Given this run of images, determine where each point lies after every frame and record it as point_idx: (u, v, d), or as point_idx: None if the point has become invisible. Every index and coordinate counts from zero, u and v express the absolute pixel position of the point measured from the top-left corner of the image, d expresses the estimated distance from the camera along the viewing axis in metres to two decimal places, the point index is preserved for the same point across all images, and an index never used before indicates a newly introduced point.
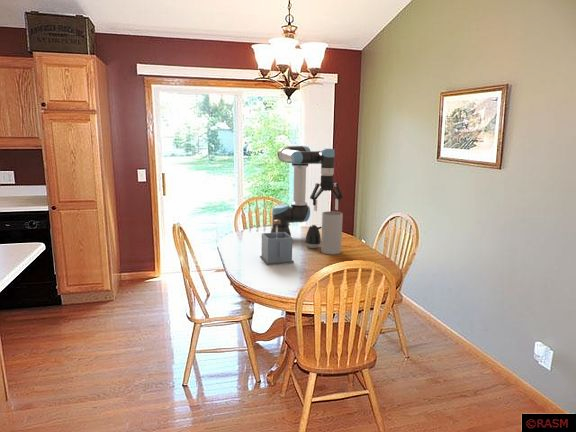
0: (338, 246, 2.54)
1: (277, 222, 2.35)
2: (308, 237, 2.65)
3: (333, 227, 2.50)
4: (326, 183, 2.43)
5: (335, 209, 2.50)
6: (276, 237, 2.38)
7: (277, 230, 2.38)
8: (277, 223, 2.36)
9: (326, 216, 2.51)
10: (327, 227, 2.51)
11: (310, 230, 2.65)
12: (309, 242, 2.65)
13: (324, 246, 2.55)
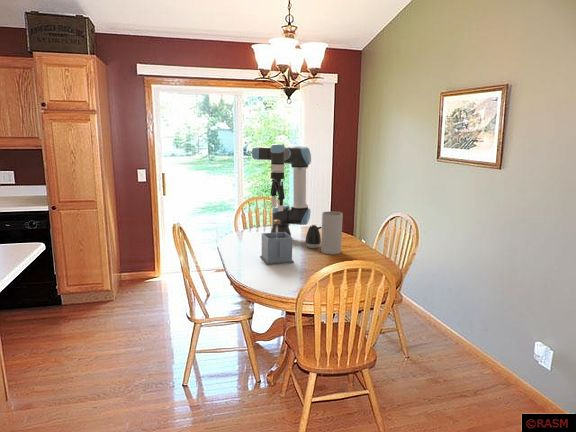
0: (338, 246, 2.54)
1: (277, 222, 2.35)
2: (308, 237, 2.65)
3: (333, 227, 2.50)
4: (275, 180, 2.33)
5: (281, 210, 2.30)
6: (276, 237, 2.38)
7: (277, 230, 2.38)
8: (277, 223, 2.36)
9: (326, 216, 2.51)
10: (327, 227, 2.51)
11: (310, 230, 2.65)
12: (309, 242, 2.65)
13: (324, 246, 2.55)
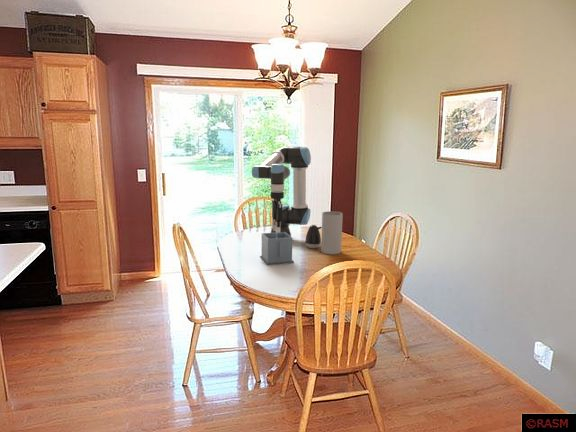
0: (338, 246, 2.54)
1: None
2: (308, 237, 2.65)
3: (333, 227, 2.50)
4: (274, 199, 2.35)
5: (278, 231, 2.37)
6: (276, 237, 2.38)
7: None
8: None
9: (326, 216, 2.51)
10: (327, 227, 2.51)
11: (310, 230, 2.65)
12: (309, 242, 2.65)
13: (324, 246, 2.55)
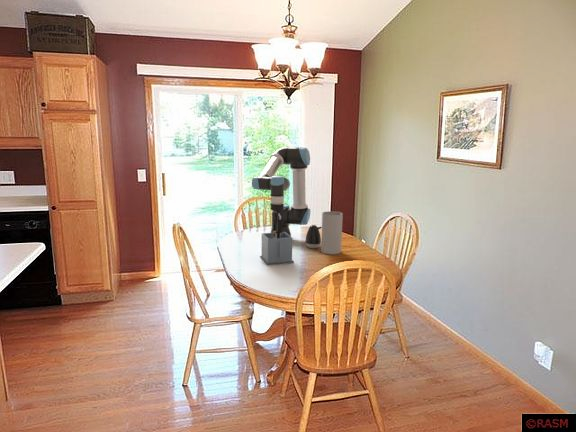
0: (338, 246, 2.54)
1: None
2: (308, 237, 2.65)
3: (333, 227, 2.50)
4: (274, 211, 2.37)
5: None
6: None
7: None
8: None
9: (326, 216, 2.51)
10: (327, 227, 2.51)
11: (310, 230, 2.65)
12: (309, 242, 2.65)
13: (324, 246, 2.55)
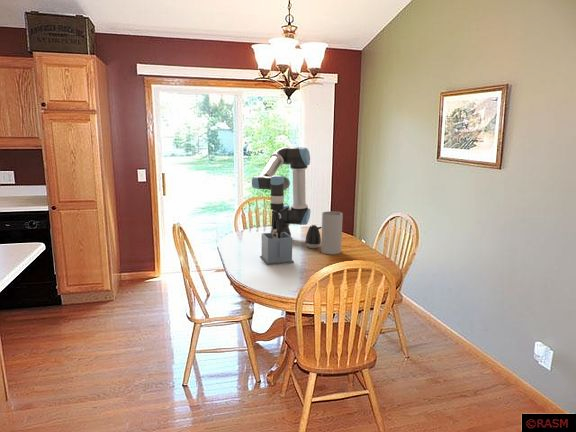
0: (338, 246, 2.54)
1: None
2: (308, 237, 2.65)
3: (333, 227, 2.50)
4: (274, 210, 2.37)
5: None
6: None
7: None
8: None
9: (326, 216, 2.51)
10: (327, 227, 2.51)
11: (310, 230, 2.65)
12: (309, 242, 2.65)
13: (324, 246, 2.55)
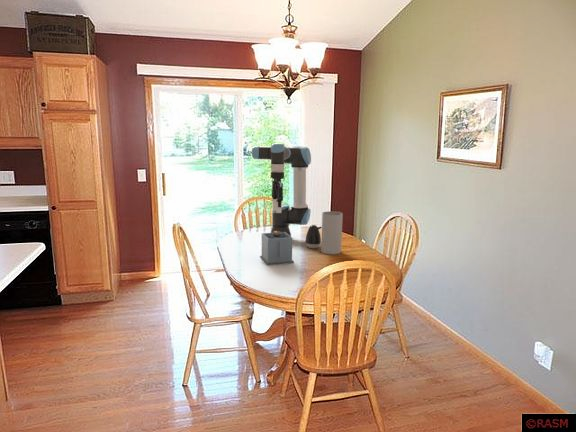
0: (338, 246, 2.54)
1: (277, 234, 2.37)
2: (308, 237, 2.65)
3: (333, 227, 2.50)
4: (275, 180, 2.33)
5: None
6: None
7: None
8: (277, 235, 2.37)
9: (326, 216, 2.51)
10: (327, 227, 2.51)
11: (310, 230, 2.65)
12: (309, 242, 2.65)
13: (324, 246, 2.55)
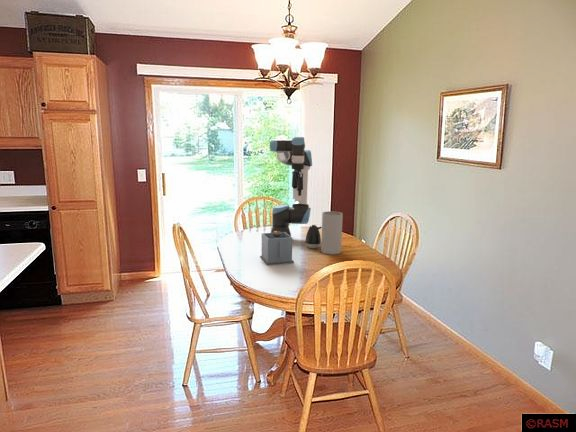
0: (338, 246, 2.54)
1: (277, 234, 2.37)
2: (308, 237, 2.65)
3: (333, 227, 2.50)
4: (295, 170, 2.52)
5: None
6: None
7: None
8: (277, 235, 2.37)
9: (326, 216, 2.51)
10: (327, 227, 2.51)
11: (310, 230, 2.65)
12: (309, 242, 2.65)
13: (324, 246, 2.55)
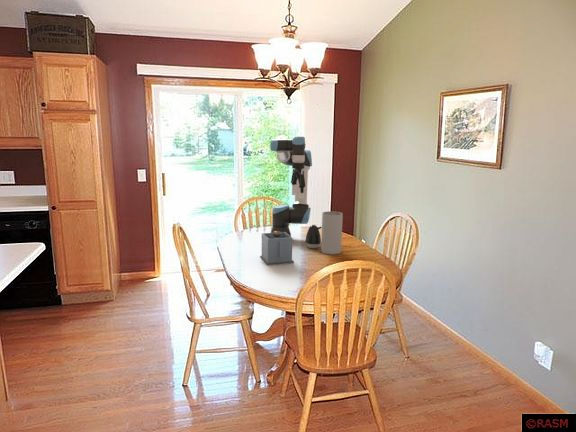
0: (338, 246, 2.54)
1: (277, 234, 2.37)
2: (308, 237, 2.65)
3: (333, 227, 2.50)
4: (296, 170, 2.53)
5: (301, 197, 2.50)
6: None
7: None
8: (277, 235, 2.37)
9: (326, 216, 2.51)
10: (327, 227, 2.51)
11: (310, 230, 2.65)
12: (309, 242, 2.65)
13: (324, 246, 2.55)
